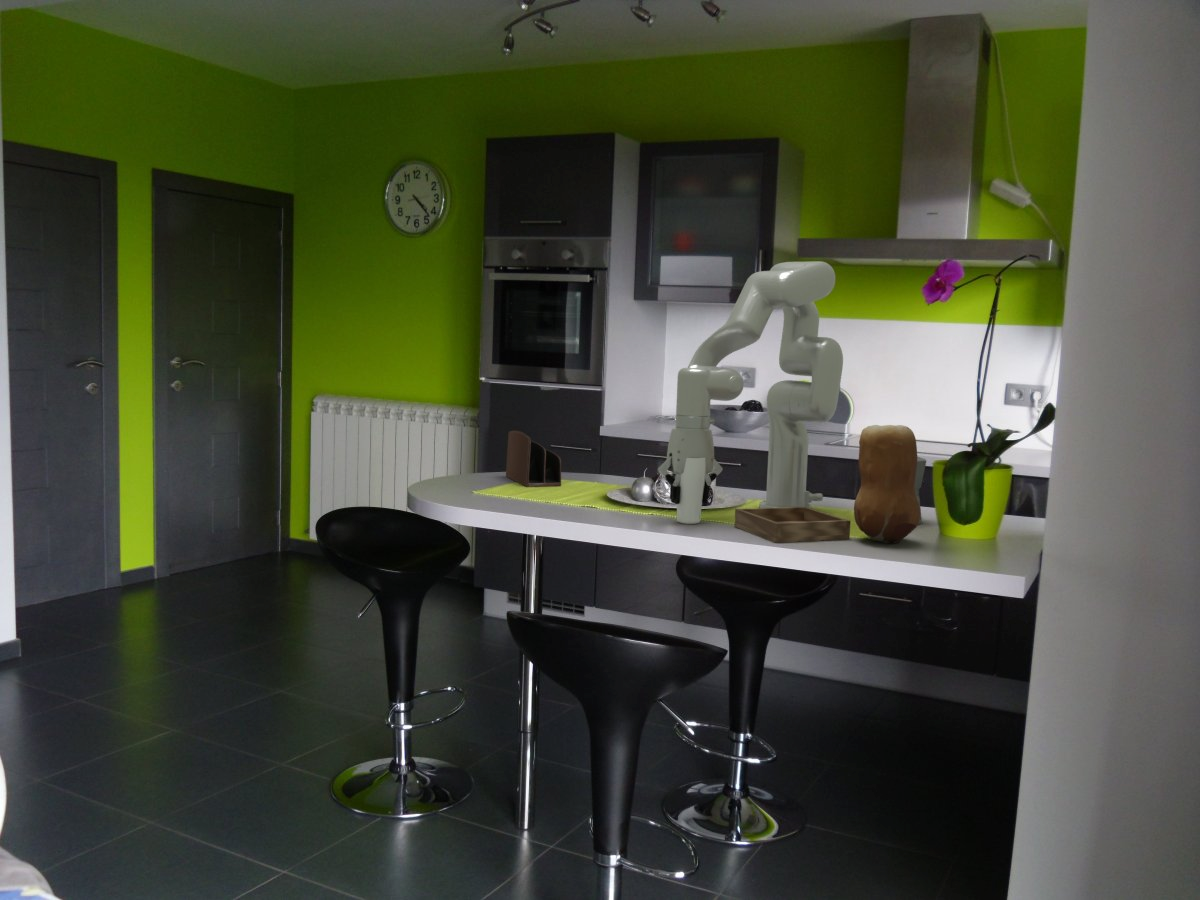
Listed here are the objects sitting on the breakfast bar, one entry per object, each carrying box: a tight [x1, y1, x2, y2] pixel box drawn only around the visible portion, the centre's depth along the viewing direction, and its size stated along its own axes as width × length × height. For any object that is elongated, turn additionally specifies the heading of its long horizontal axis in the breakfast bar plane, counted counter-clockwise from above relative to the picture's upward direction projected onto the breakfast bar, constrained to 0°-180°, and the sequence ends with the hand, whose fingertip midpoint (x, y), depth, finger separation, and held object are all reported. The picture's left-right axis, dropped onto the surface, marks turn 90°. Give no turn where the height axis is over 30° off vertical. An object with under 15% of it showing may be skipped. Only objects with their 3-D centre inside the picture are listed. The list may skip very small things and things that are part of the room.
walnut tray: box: [734, 507, 852, 544], centre depth 236 cm, size 18×18×4 cm
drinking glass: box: [676, 458, 706, 525], centre depth 244 cm, size 7×7×15 cm
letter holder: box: [505, 430, 562, 488], centre depth 300 cm, size 10×20×14 cm, turn 21°
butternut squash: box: [853, 424, 922, 545], centre depth 228 cm, size 14×13×25 cm
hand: (689, 502), depth 244 cm, fingers closed on drinking glass, 6 cm apart
